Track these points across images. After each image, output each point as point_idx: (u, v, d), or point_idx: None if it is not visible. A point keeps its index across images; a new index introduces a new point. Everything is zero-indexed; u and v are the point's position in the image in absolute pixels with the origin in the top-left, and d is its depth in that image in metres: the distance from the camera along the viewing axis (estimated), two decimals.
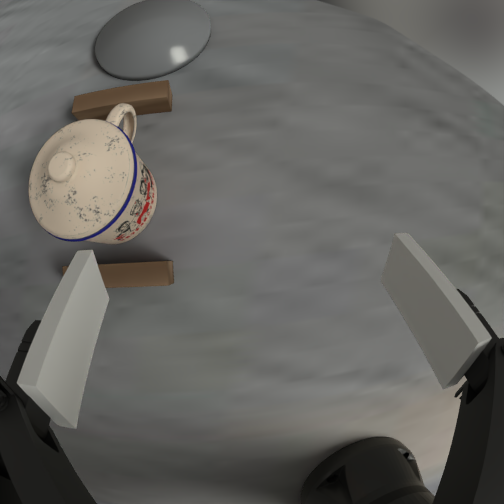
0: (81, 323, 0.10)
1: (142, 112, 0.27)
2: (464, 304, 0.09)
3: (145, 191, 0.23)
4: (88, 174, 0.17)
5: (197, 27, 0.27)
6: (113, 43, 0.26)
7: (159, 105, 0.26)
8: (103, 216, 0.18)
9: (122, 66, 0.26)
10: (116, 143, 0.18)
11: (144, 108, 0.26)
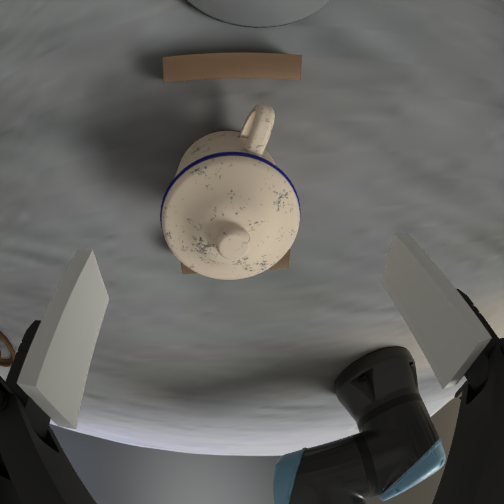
0: (81, 323, 0.10)
1: None
2: (464, 304, 0.09)
3: None
4: (262, 243, 0.18)
5: None
6: None
7: None
8: (269, 266, 0.21)
9: (223, 6, 0.17)
10: (285, 199, 0.18)
11: None
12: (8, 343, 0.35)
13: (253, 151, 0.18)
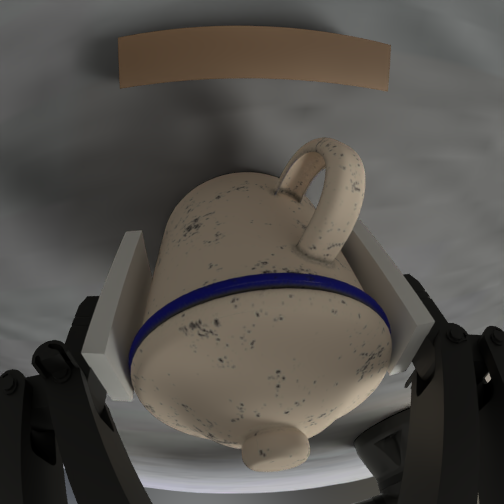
0: (135, 298, 0.11)
1: None
2: (408, 287, 0.10)
3: None
4: (323, 429, 0.09)
5: None
6: None
7: None
8: None
9: None
10: (376, 359, 0.08)
11: None
12: None
13: (320, 256, 0.08)
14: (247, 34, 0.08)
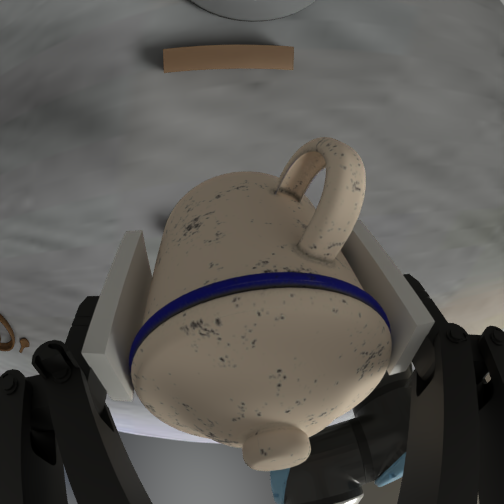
0: (135, 298, 0.11)
1: None
2: (408, 287, 0.10)
3: None
4: None
5: None
6: None
7: None
8: None
9: (219, 2, 0.18)
10: (376, 358, 0.08)
11: None
12: (9, 327, 0.36)
13: (320, 256, 0.09)
14: (222, 48, 0.19)
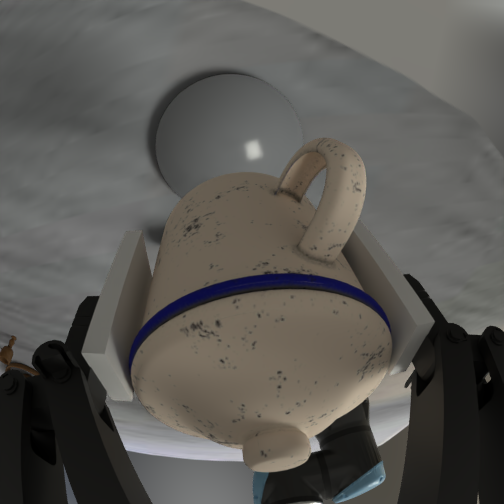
0: (135, 298, 0.11)
1: None
2: (408, 287, 0.10)
3: None
4: None
5: (287, 147, 0.28)
6: (182, 160, 0.27)
7: None
8: None
9: None
10: (376, 359, 0.08)
11: None
12: None
13: (321, 257, 0.08)
14: None
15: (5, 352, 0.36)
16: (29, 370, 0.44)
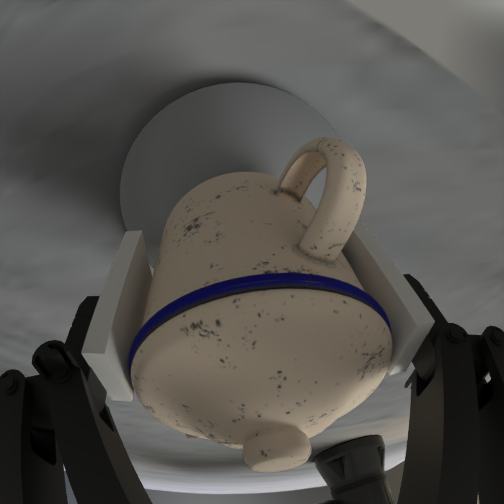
0: (135, 298, 0.11)
1: None
2: (408, 287, 0.10)
3: None
4: None
5: None
6: (163, 225, 0.18)
7: None
8: None
9: None
10: (377, 359, 0.08)
11: None
12: None
13: (321, 256, 0.08)
14: None
15: None
16: None
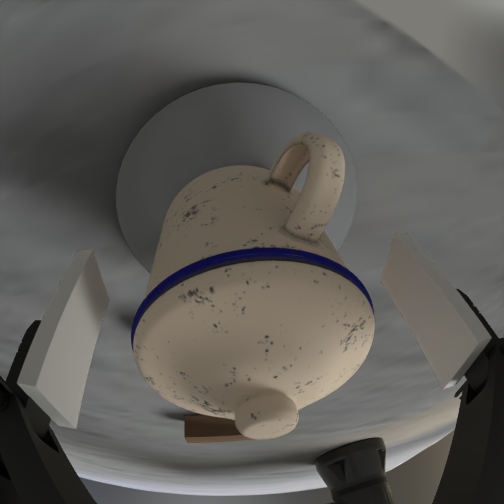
0: (81, 323, 0.10)
1: None
2: (464, 304, 0.09)
3: None
4: (312, 400, 0.10)
5: None
6: None
7: None
8: (311, 402, 0.12)
9: None
10: (359, 332, 0.09)
11: None
12: None
13: (304, 236, 0.10)
14: None
15: None
16: None
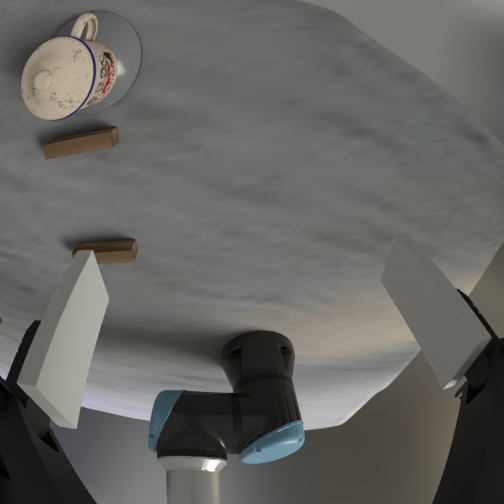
0: (81, 323, 0.10)
1: None
2: (464, 304, 0.09)
3: (106, 73, 0.25)
4: (62, 80, 0.20)
5: (127, 55, 0.28)
6: None
7: None
8: (75, 103, 0.23)
9: None
10: (79, 54, 0.20)
11: None
12: None
13: (72, 36, 0.20)
14: (71, 141, 0.31)
15: None
16: None
